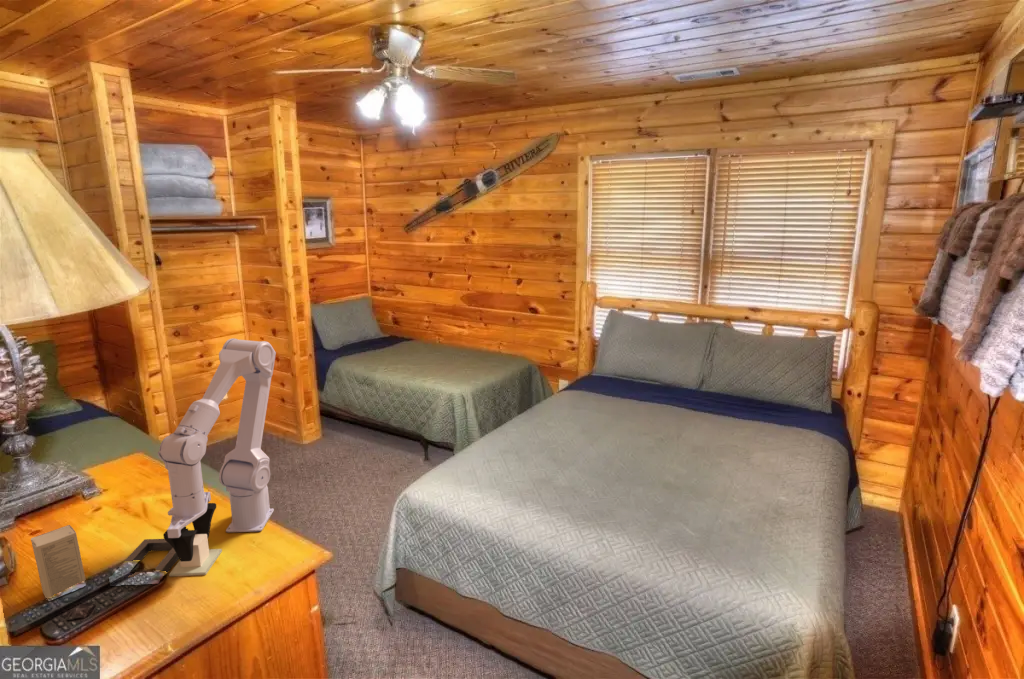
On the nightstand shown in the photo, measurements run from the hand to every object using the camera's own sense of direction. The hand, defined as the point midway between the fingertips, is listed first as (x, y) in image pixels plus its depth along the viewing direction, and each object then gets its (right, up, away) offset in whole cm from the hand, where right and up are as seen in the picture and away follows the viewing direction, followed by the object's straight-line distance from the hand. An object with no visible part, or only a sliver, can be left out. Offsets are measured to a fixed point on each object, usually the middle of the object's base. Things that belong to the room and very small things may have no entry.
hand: (194, 549), depth 116 cm
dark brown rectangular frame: (-9, -3, 0) cm, 10 cm away
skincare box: (-21, -5, -8) cm, 23 cm away
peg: (0, -3, +1) cm, 3 cm away
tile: (0, -3, +1) cm, 3 cm away
